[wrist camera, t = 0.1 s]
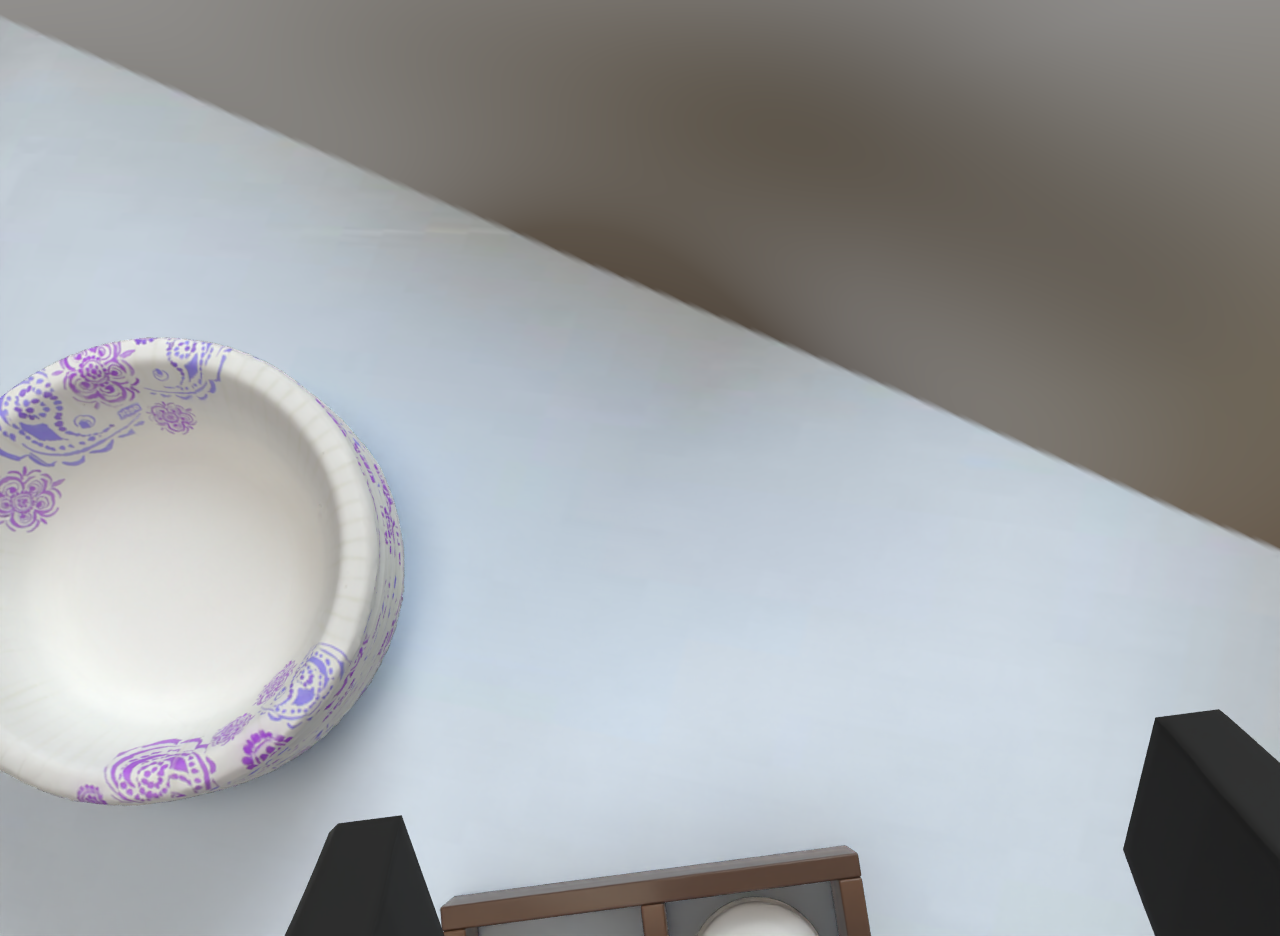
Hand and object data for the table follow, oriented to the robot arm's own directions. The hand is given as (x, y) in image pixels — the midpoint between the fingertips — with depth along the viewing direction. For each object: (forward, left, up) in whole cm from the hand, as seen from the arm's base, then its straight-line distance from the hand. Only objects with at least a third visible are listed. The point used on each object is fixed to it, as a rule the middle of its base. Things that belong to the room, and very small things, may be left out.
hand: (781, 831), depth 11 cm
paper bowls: (+8, +17, -32) cm, 37 cm away
